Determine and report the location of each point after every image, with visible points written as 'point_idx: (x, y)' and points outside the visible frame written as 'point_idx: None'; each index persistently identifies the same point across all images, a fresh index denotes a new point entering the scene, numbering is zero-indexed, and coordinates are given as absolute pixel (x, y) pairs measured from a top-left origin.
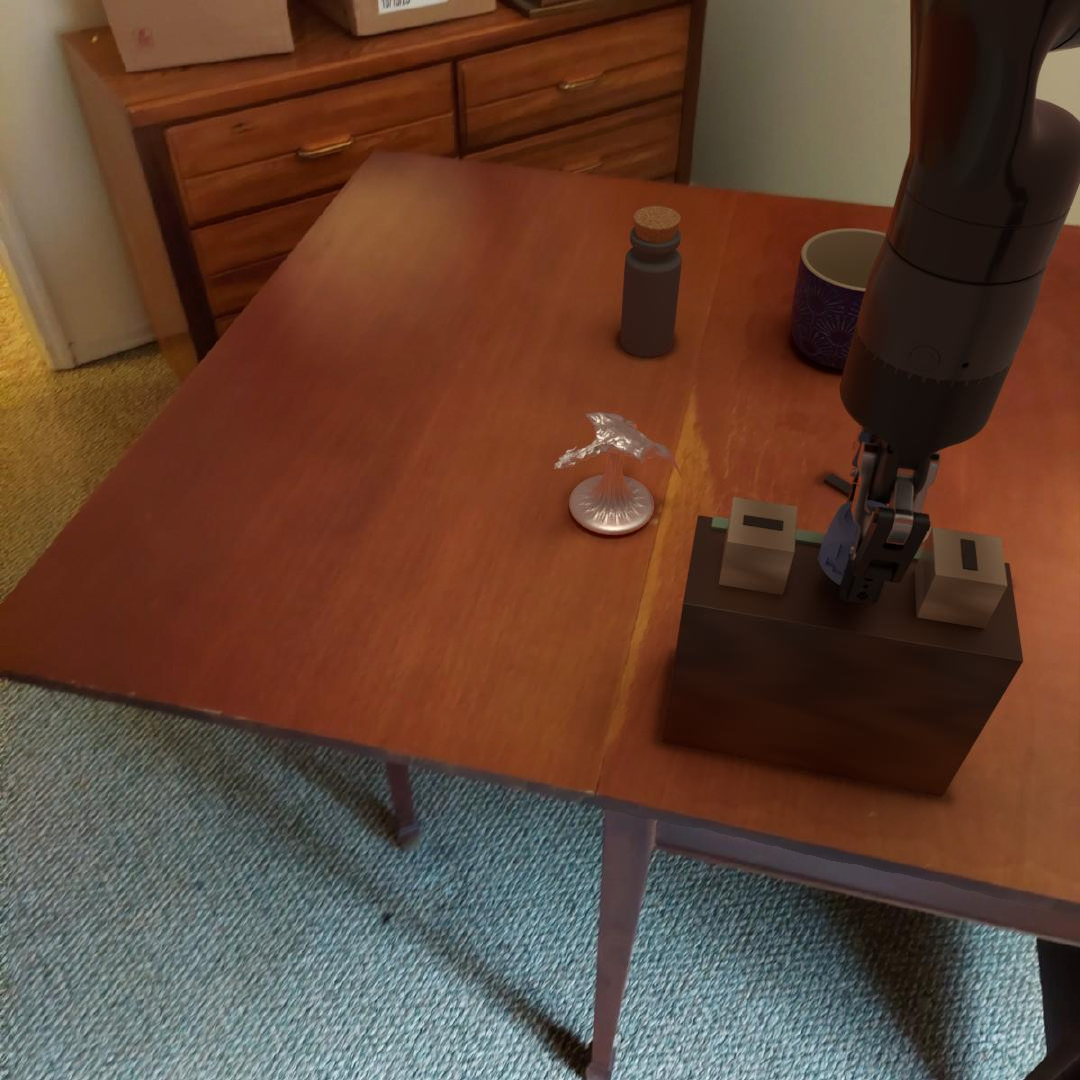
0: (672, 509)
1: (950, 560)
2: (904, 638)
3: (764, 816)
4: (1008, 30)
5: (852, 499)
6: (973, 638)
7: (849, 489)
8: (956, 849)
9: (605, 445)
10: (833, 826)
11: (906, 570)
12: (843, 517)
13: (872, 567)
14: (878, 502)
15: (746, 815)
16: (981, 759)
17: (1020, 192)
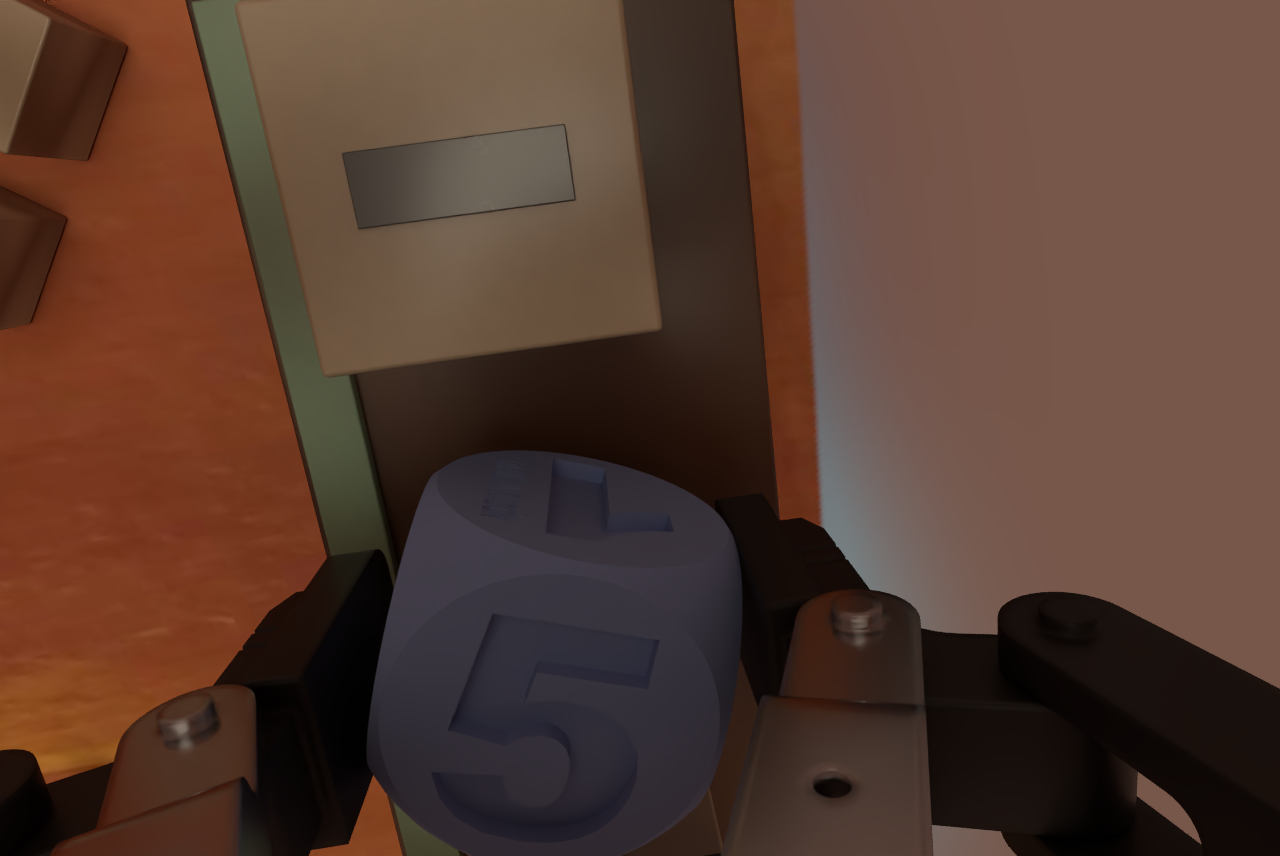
0: (98, 745)
1: (541, 268)
2: (751, 324)
3: (794, 389)
4: None
5: (363, 791)
6: (666, 74)
7: None
8: (751, 19)
9: None
10: (776, 265)
11: (1255, 677)
12: (569, 844)
13: (1131, 790)
14: (384, 720)
15: (802, 420)
16: None
17: None
